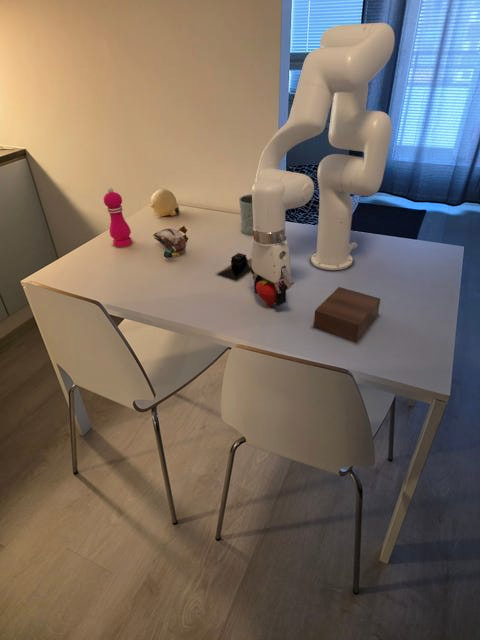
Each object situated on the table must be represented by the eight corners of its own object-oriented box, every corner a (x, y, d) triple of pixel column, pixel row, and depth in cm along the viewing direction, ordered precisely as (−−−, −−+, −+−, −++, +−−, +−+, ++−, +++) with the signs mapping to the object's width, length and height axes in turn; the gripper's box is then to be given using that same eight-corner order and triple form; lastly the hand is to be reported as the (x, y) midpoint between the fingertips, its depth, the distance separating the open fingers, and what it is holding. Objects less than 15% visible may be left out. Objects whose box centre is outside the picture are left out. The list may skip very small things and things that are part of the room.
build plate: (236, 281, 121) (235, 267, 118) (217, 274, 125) (215, 261, 122) (260, 264, 129) (259, 250, 126) (241, 258, 133) (241, 245, 130)
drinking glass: (242, 225, 156) (241, 194, 149) (269, 225, 155) (269, 193, 148) (239, 236, 148) (237, 203, 141) (267, 236, 146) (266, 203, 140)
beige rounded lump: (169, 227, 168) (186, 207, 165) (145, 208, 161) (163, 188, 159) (166, 218, 176) (183, 199, 173) (144, 200, 169) (160, 180, 166)
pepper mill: (137, 241, 149) (125, 186, 137) (122, 249, 144) (109, 192, 132) (123, 238, 152) (110, 183, 141) (108, 245, 147) (94, 189, 136)
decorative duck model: (174, 248, 127) (133, 241, 132) (177, 268, 132) (138, 261, 137) (195, 225, 137) (156, 220, 142) (198, 245, 142) (160, 239, 147)
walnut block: (337, 303, 108) (338, 286, 105) (377, 315, 103) (380, 298, 100) (313, 327, 100) (314, 310, 97) (356, 342, 94) (358, 324, 91)
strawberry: (278, 315, 105) (278, 280, 99) (252, 308, 108) (250, 275, 103) (287, 303, 109) (288, 270, 104) (262, 297, 112) (261, 265, 107)
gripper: (307, 240, 93) (304, 305, 103) (257, 220, 105) (259, 281, 115) (282, 250, 90) (282, 317, 100) (234, 228, 101) (238, 290, 111)
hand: (269, 297), depth 107 cm, fingers closed on strawberry, 7 cm apart
